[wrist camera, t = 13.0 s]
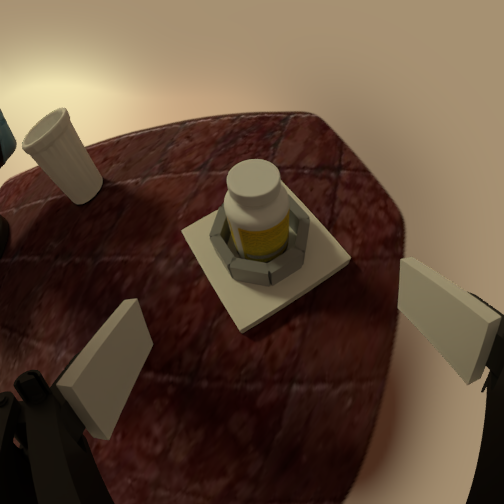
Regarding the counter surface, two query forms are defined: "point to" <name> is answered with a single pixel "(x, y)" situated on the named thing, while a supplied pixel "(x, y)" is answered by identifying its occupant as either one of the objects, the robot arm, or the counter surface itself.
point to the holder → (265, 264)
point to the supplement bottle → (257, 210)
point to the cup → (63, 156)
